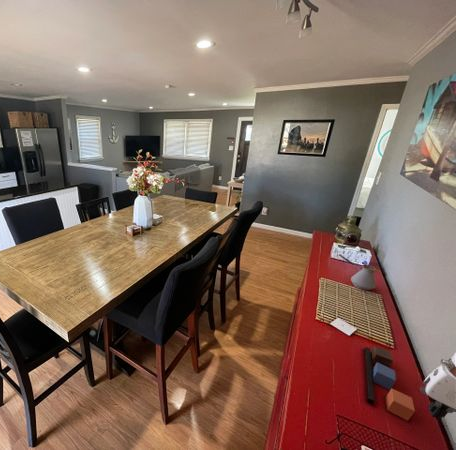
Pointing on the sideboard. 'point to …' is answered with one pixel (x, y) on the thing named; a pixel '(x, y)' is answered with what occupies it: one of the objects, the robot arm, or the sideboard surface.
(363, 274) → the coffee pot
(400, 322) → the sideboard surface
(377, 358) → the walnut block
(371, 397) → the rail
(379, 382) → the slate blue block
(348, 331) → the coaster
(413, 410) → the terracotta block
